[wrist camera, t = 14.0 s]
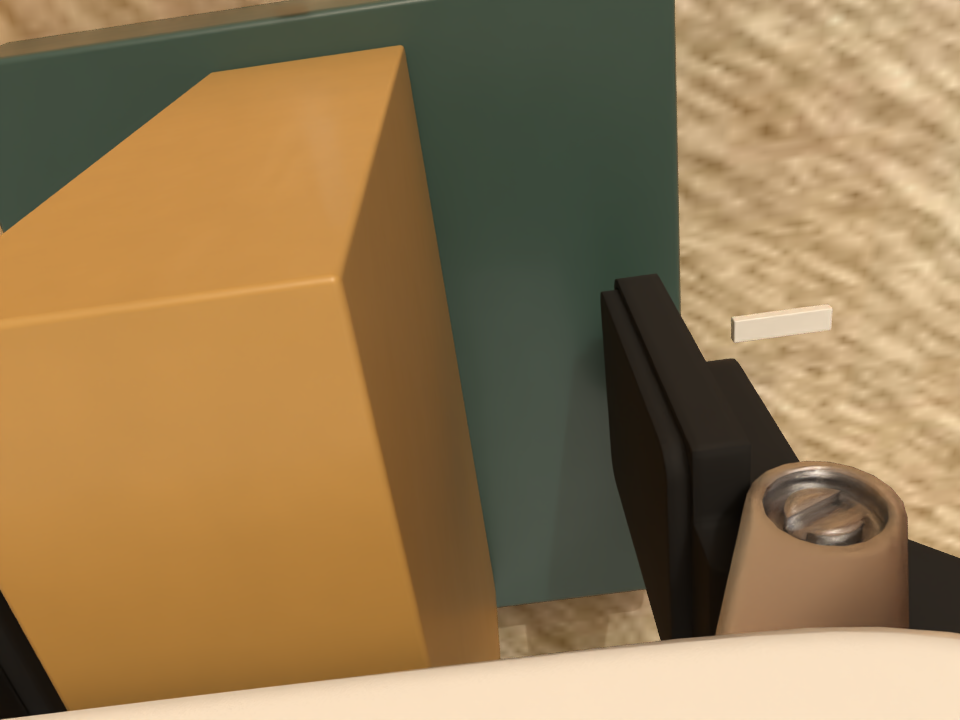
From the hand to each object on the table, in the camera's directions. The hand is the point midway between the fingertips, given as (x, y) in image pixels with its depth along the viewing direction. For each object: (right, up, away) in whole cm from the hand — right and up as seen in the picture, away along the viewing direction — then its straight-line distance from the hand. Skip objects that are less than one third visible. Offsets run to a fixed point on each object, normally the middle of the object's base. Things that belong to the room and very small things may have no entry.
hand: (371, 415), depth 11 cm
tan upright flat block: (0, 0, +1) cm, 1 cm away
